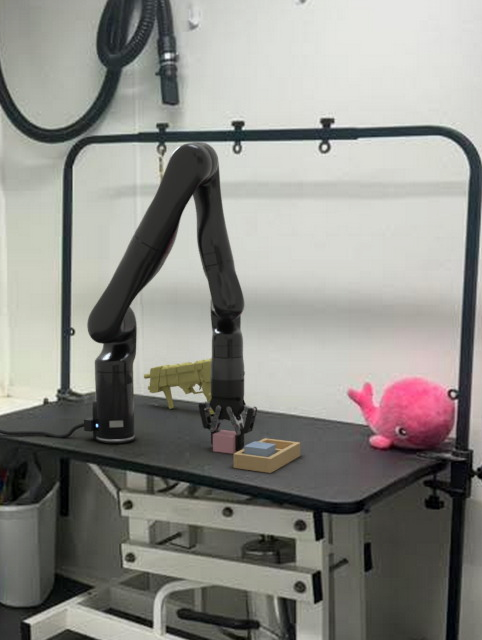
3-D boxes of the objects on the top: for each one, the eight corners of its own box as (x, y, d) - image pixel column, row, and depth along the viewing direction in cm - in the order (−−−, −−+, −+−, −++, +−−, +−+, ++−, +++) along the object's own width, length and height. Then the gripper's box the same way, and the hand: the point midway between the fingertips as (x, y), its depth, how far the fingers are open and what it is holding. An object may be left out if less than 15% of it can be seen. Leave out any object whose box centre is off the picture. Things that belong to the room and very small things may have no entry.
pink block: (212, 451, 214) (212, 434, 214) (222, 446, 218) (222, 429, 218) (232, 453, 212) (232, 436, 211) (242, 449, 216) (242, 432, 215)
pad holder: (233, 467, 200) (233, 453, 200) (264, 451, 213) (264, 438, 212) (270, 473, 195) (270, 458, 195) (300, 456, 208) (300, 442, 207)
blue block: (244, 464, 200) (244, 446, 200) (254, 458, 204) (254, 441, 204) (265, 467, 198) (266, 448, 197) (275, 461, 201) (275, 443, 201)
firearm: (158, 419, 268) (148, 367, 268) (249, 407, 249) (238, 352, 248) (149, 422, 265) (139, 370, 264) (241, 410, 246) (230, 354, 245)
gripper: (191, 376, 213) (191, 448, 216) (249, 380, 205) (249, 456, 208) (206, 371, 219) (207, 441, 222) (263, 375, 211) (263, 449, 214)
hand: (227, 448), depth 215 cm, fingers closed on pink block, 5 cm apart
